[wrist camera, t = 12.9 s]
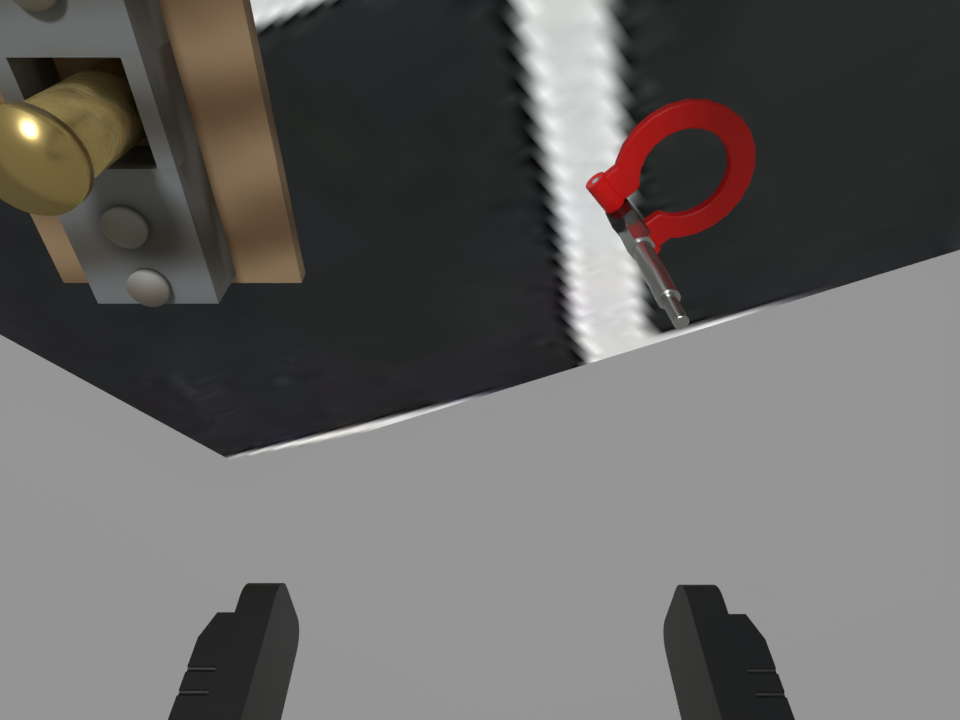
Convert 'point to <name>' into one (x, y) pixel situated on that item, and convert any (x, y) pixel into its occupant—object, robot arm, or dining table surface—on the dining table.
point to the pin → (66, 138)
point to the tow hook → (660, 225)
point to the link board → (165, 149)
